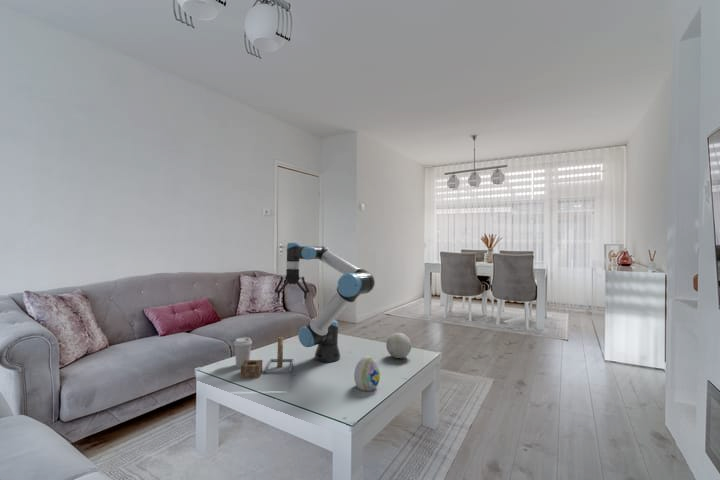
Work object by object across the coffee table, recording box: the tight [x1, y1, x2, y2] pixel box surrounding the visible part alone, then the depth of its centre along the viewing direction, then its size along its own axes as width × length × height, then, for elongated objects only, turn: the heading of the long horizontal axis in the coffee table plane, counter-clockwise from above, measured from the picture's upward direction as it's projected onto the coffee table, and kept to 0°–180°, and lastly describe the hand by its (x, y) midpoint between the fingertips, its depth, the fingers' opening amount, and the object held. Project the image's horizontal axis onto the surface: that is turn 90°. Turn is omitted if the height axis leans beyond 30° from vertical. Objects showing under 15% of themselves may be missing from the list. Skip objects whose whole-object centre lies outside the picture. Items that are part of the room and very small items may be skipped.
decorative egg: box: [353, 355, 381, 392], centre depth 165 cm, size 12×12×15 cm
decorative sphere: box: [386, 332, 412, 359], centre depth 210 cm, size 15×15×15 cm
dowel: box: [276, 336, 284, 369], centre depth 187 cm, size 3×3×16 cm
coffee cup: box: [233, 337, 253, 369], centre depth 187 cm, size 10×10×15 cm
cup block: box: [240, 359, 263, 379], centre depth 176 cm, size 9×9×6 cm
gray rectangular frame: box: [264, 358, 295, 375], centre depth 187 cm, size 13×19×2 cm
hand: (291, 304), depth 206 cm, fingers open, 13 cm apart
